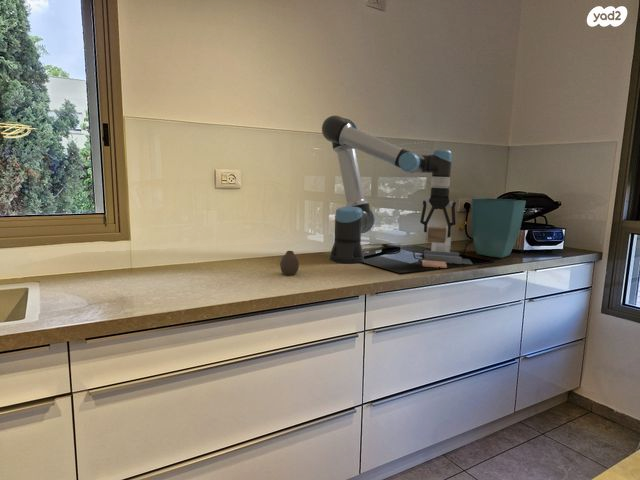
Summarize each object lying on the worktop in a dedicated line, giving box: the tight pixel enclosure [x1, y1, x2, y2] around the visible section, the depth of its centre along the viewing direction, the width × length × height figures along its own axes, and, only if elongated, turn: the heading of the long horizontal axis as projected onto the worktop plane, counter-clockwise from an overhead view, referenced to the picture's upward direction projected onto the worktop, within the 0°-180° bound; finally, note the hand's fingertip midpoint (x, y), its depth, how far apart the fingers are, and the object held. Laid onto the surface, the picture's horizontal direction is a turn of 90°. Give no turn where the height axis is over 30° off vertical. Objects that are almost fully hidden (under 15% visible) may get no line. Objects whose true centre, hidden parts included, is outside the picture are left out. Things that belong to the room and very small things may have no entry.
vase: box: [279, 250, 300, 277], centre depth 154 cm, size 7×7×9 cm
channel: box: [423, 250, 463, 265], centre depth 193 cm, size 16×12×3 cm
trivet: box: [421, 259, 448, 269], centre depth 182 cm, size 10×10×1 cm
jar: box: [430, 231, 452, 252], centre depth 205 cm, size 9×8×12 cm
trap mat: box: [461, 258, 474, 266], centre depth 191 cm, size 5×12×1 cm, turn 167°
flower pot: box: [471, 197, 527, 259], centre depth 209 cm, size 20×20×28 cm
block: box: [427, 225, 446, 243], centre depth 180 cm, size 9×7×6 cm
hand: (436, 240), depth 180 cm, fingers closed on block, 7 cm apart
